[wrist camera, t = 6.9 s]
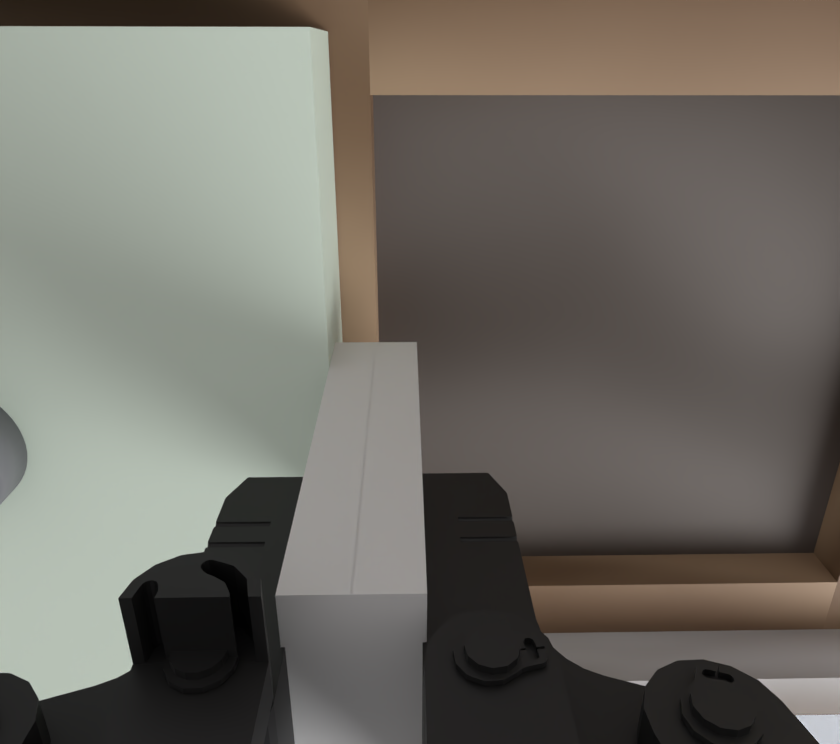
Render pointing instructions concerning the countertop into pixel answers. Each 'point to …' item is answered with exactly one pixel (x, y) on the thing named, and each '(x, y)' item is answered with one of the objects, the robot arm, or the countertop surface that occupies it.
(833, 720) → the countertop surface
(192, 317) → the slide cover
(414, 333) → the wooden sliding lid box
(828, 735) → the countertop surface
